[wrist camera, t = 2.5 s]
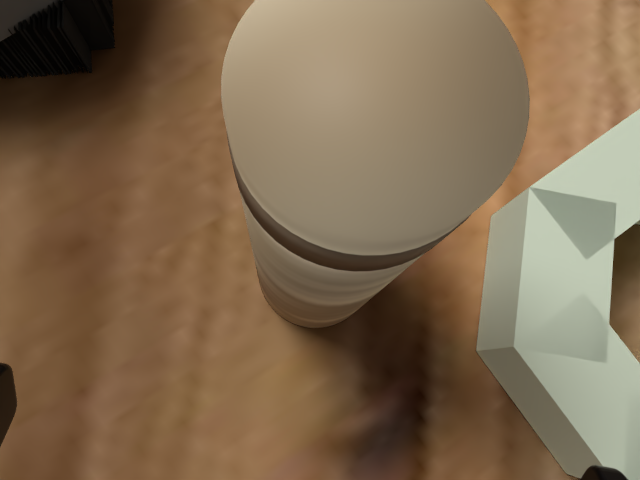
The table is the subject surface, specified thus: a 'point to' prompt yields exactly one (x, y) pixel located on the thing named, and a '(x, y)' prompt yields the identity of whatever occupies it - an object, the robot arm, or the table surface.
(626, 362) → the sage ashtray
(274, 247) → the maple peg
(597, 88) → the table surface
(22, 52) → the cpu cooler
